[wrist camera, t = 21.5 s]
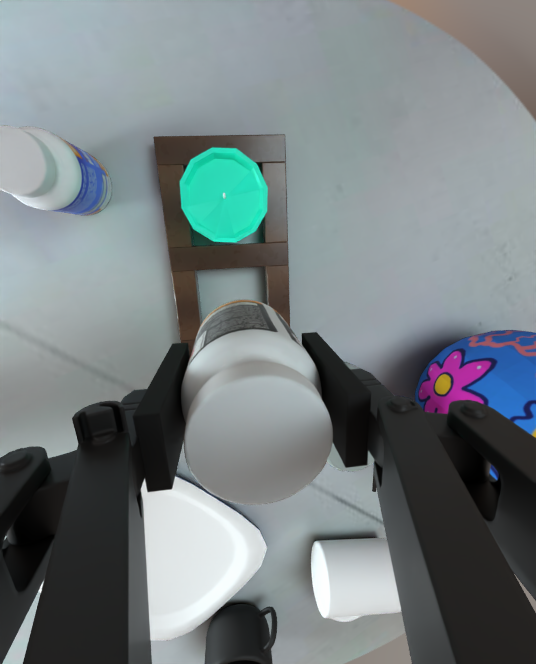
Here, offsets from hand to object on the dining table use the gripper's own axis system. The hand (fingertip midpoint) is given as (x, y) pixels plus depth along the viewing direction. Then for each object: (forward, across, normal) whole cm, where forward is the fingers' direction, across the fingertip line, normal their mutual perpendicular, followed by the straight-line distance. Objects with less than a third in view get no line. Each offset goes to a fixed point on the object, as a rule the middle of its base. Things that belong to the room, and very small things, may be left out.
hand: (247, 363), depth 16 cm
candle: (+19, 0, +9) cm, 21 cm away
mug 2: (+19, +12, -40) cm, 46 cm away
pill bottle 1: (+19, -14, +11) cm, 26 cm away
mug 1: (+19, -3, -48) cm, 51 cm away
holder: (+19, 0, +4) cm, 19 cm away
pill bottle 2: (+4, 0, 0) cm, 4 cm away
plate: (+19, -14, -34) cm, 41 cm away
